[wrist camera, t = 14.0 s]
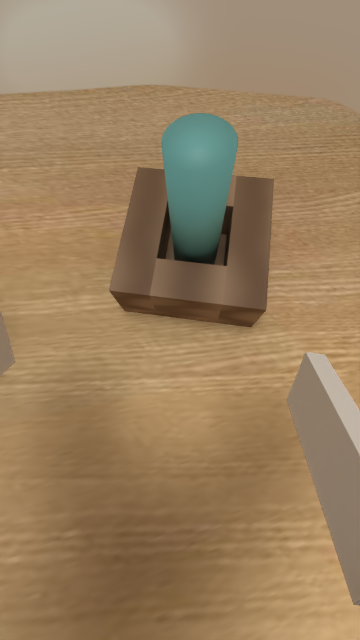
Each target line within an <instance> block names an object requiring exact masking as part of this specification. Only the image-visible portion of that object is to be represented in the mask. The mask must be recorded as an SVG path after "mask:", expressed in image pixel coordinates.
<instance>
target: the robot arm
mask: <svg viewBox="0 0 360 640" xmlns="http://www.w3.org/2000/svg"><path fill="white" fill-rule="evenodd" d="M14 362H15V359H14V355H13V352H12V349H11V345H10V342H9V338H8V335H7V331H6V328H5V324H4V321H3V317H2V314H1V312H0V376H1V375H2V374H3V373H4V372H5V371H6V370H7V369H8V368H9V367H10V366H11V365H12V364H13V363H14ZM287 402H288V405H289V409H290V412H291V415H292V418H293V421H294V424H295V427H296V430H297V433H298V436H299V439H300V442H301V445H302V448H303V451H304V454H305V458H306V461H307V464H308V467H309V470H310V473H311V476H312V479H313V482H314V485H315V488H316V491H317V494H318V497H319V500H320V503H321V506H322V510H323V513H324V516H325V519H326V522H327V525H328V528H329V531H330V534H331V537H332V540H333V543H334V546H335V549H336V552H337V555H338V559H339V562H340V565H341V568H342V571H343V574H344V577H345V580H346V583H347V586H348V589H349V592H350V595H351V598H352V601H353V604H354V605H360V410H359V409H358V407H357V406H356V404H355V402H354V401H353V399H352V397H351V396H350V394H349V393H348V391H347V389H346V388H345V386H344V385H343V383H342V381H341V380H340V378H339V377H338V375H337V373H336V372H335V370H334V368H333V367H332V365H331V364H330V362H329V360H328V359H327V357H326V356H325V354H318V353H310V352H306V353H305V355H304V358H303V360H302V363H301V365H300V368H299V370H298V373H297V375H296V378H295V380H294V383H293V385H292V388H291V390H290V393H289V395H288V398H287Z"/></svg>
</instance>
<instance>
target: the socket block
mask: <svg viewBox="0 0 360 640" xmlns="http://www.w3.org/2000/svg"><path fill="white" fill-rule="evenodd" d="M273 185H274V179H267V178H255V177H244V176H232V178H231V183H230V188H229V194H228V199H227V204H226V209H225V214H224V220H223V225H222V230H221V235H220V241H219V246H218V251H217V256H216V261H215V264H214V265H211V264H202V263H194V262H185V261H176V260H174V251H173V242H172V233H171V224H170V215H169V207H168V198H167V189H166V180H165V171H164V170H163V169H152V168H140V167H138V170H137V174H136V178H135V182H134V187H133V191H132V195H131V199H130V204H129V208H128V212H127V216H126V221H125V225H124V229H123V233H122V237H121V242H120V246H119V250H118V254H117V259H116V263H115V267H114V271H113V276H112V280H111V284H110V288H109V291H110V292H111V294H112V295H113V296H114V298H115V299H116V300H117V302H118V303H119V304H120V306H121V307H122V308H123V309H124V311H131V312H138V313H146V314H154V315H162V316H169V317H177V318H185V319H193V320H200V321H208V322H216V323H224V324H231V325H239V326H247V327H252V325H253V324H254V323H255V322H256V321H257V320H258V319H259V318H260V316H261V315H262V314H263V313H264V312H265V311H266V305H267V288H268V271H269V253H270V236H271V219H272V202H273Z"/></svg>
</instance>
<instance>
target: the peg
mask: <svg viewBox="0 0 360 640" xmlns="http://www.w3.org/2000/svg"><path fill="white" fill-rule="evenodd" d="M237 147H238V137H237V134H236V132H235V130H234V128H233V127H232V126H231V125H230V124H229V123H228V122H227V121H225V120H224V119H222V118H220V117H218V116H215V115H211V114H205V113H196V114H190V115H186V116H183V117H181V118H179V119H177V120H175V121H174V122H173V123H171V124H170V125H169V126H168V128H167V129H166V130H165V132H164V134H163V137H162V153H163V162H164V171H165V180H166V189H167V198H168V207H169V215H170V224H171V233H172V242H173V251H174V260H176V261H185V262H194V263H202V264H211V265H214V264H215V261H216V256H217V251H218V246H219V241H220V235H221V230H222V225H223V220H224V214H225V209H226V204H227V199H228V194H229V188H230V183H231V178H232V173H233V168H234V162H235V157H236V152H237Z"/></svg>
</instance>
